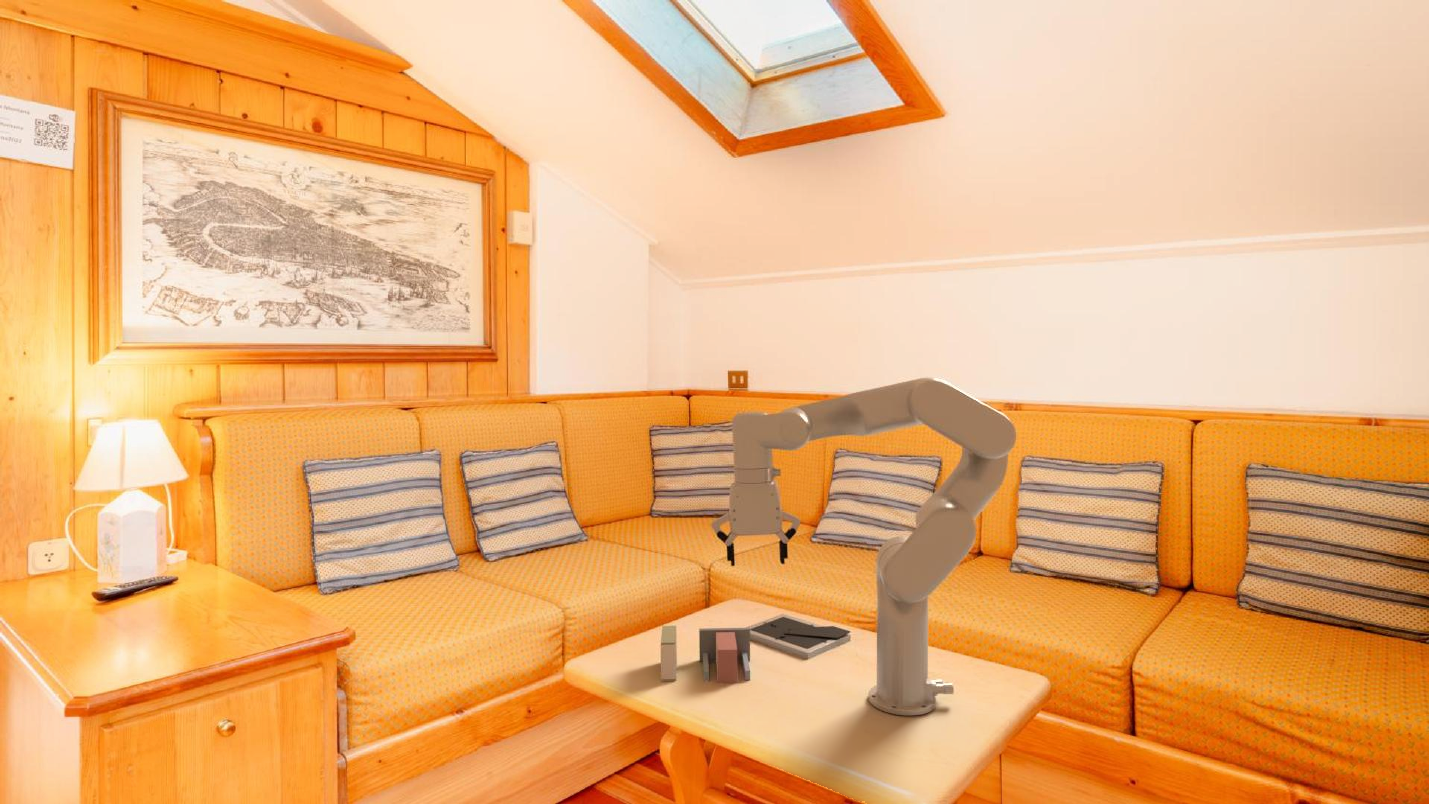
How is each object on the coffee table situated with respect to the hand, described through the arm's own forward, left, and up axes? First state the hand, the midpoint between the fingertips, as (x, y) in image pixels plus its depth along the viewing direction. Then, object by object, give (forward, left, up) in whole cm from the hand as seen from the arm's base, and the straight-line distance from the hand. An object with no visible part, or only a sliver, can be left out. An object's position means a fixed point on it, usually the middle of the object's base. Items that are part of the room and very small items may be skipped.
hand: (757, 563), depth 151 cm
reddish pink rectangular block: (+6, -11, -26) cm, 29 cm away
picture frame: (-11, -30, -27) cm, 42 cm away
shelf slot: (+6, -13, -26) cm, 30 cm away
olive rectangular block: (+18, -13, -26) cm, 34 cm away
